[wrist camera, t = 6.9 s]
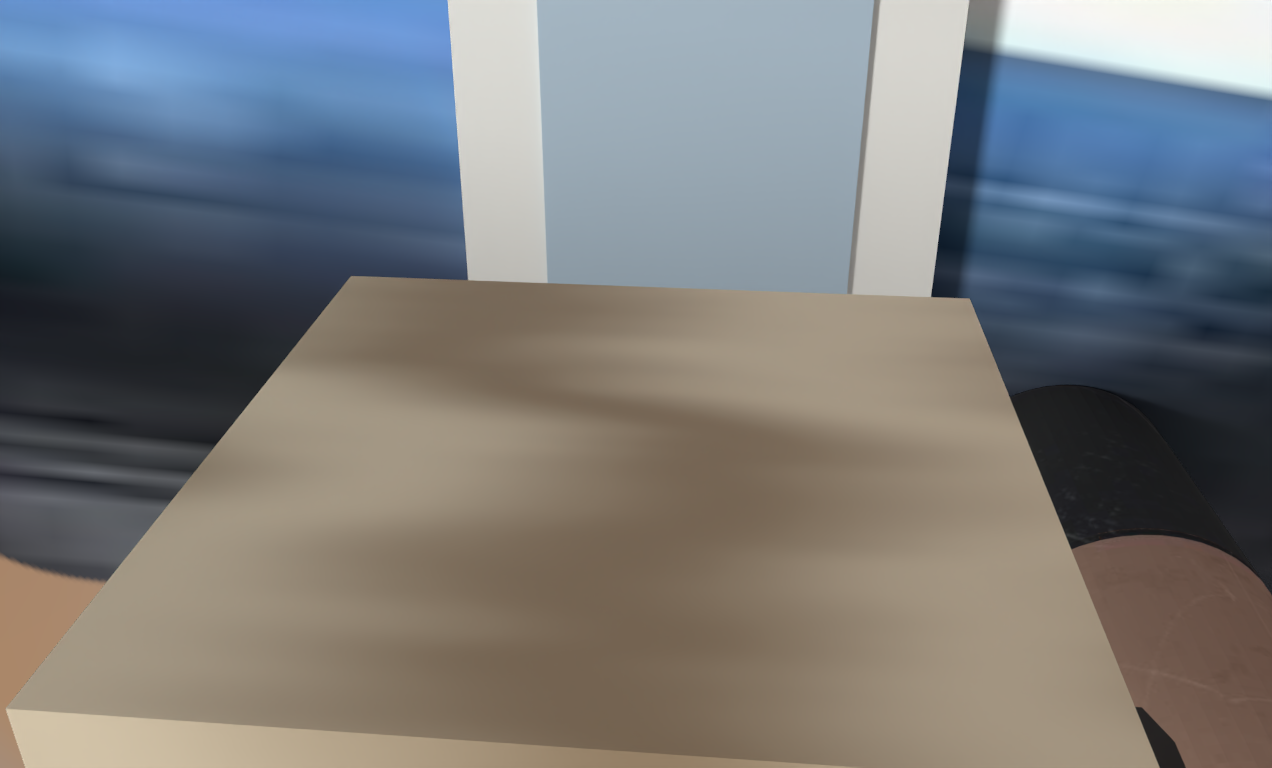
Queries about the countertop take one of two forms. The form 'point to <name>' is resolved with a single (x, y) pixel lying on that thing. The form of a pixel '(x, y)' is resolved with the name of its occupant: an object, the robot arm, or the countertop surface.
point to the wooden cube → (602, 552)
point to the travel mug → (1158, 574)
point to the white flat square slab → (706, 141)
